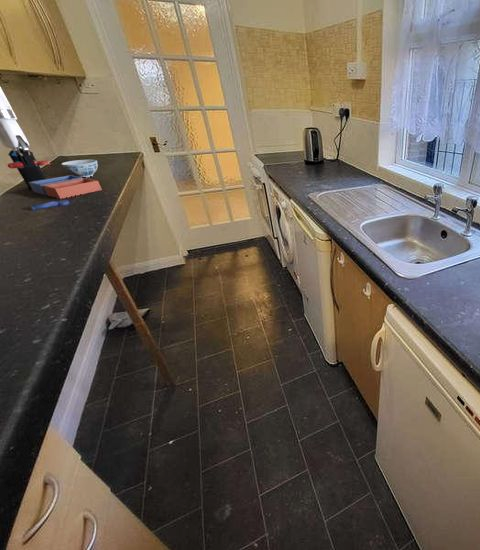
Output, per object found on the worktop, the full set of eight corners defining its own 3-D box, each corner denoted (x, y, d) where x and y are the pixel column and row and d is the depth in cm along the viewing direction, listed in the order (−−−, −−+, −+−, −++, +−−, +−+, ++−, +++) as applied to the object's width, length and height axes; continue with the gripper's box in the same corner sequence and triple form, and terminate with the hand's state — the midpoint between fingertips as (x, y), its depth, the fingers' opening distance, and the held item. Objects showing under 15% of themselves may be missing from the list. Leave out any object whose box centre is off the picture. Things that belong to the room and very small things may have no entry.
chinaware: (70, 175, 168) (63, 161, 164) (103, 172, 176) (97, 158, 172) (67, 181, 158) (59, 166, 154) (102, 177, 166) (96, 162, 162)
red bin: (60, 199, 132) (55, 188, 129) (48, 195, 136) (42, 185, 133) (102, 190, 145) (97, 180, 142) (89, 187, 148) (85, 178, 146)
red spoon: (11, 169, 115) (8, 164, 114) (7, 168, 116) (4, 163, 115) (51, 164, 125) (49, 159, 124) (47, 163, 126) (44, 158, 125)
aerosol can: (28, 187, 147) (3, 143, 137) (50, 184, 152) (27, 142, 141) (28, 190, 142) (1, 145, 132) (51, 187, 147) (27, 144, 136)
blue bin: (45, 195, 136) (39, 185, 134) (33, 192, 140) (28, 182, 138) (87, 186, 149) (82, 177, 147) (75, 184, 153) (70, 175, 151)
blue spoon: (34, 212, 117) (31, 207, 116) (29, 210, 119) (26, 205, 118) (71, 203, 127) (69, 199, 126) (66, 202, 128) (64, 197, 127)
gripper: (-23, 114, 111) (8, 165, 120) (-4, 116, 105) (26, 170, 114) (5, 113, 116) (32, 162, 126) (24, 115, 111) (50, 166, 120)
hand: (29, 165), depth 120 cm, fingers closed on red spoon, 2 cm apart
